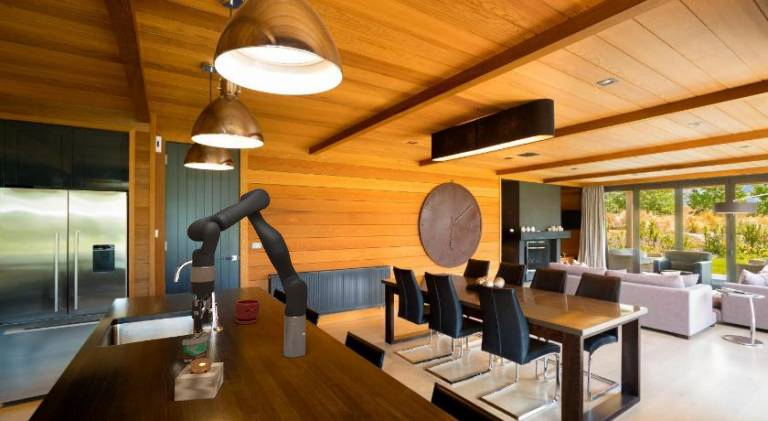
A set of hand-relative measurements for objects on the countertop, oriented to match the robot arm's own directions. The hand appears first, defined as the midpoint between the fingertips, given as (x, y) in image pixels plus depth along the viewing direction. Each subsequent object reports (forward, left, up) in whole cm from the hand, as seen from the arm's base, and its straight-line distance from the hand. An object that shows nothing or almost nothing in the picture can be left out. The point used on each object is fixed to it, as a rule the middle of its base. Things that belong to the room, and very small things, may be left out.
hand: (201, 326), depth 124 cm
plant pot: (-1, -86, -22) cm, 89 cm away
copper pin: (0, 0, -22) cm, 22 cm away
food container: (+9, -30, -22) cm, 38 cm away
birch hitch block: (0, 0, -22) cm, 22 cm away
